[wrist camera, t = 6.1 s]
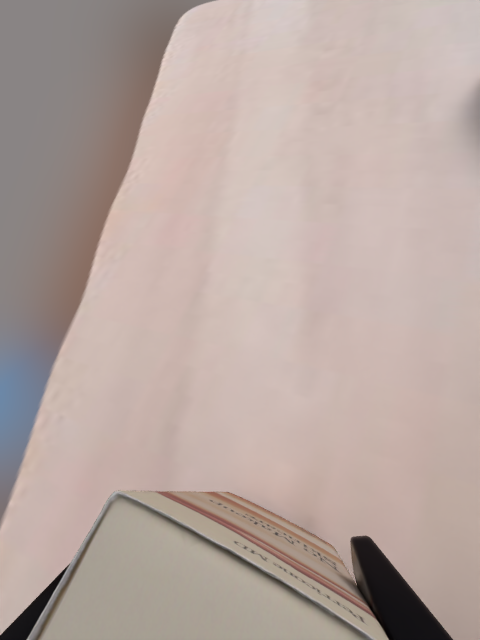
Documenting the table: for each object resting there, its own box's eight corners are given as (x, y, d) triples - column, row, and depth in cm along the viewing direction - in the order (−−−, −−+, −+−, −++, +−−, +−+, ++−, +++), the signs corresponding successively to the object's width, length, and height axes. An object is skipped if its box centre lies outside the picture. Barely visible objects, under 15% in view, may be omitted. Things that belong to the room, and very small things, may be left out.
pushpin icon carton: (337, 543, 13) (438, 673, 4) (299, 680, 11) (323, 1408, 2) (221, 482, 14) (108, 477, 6) (173, 595, 13) (-93, 840, 4)
